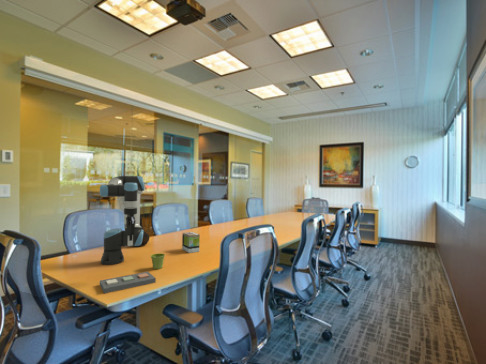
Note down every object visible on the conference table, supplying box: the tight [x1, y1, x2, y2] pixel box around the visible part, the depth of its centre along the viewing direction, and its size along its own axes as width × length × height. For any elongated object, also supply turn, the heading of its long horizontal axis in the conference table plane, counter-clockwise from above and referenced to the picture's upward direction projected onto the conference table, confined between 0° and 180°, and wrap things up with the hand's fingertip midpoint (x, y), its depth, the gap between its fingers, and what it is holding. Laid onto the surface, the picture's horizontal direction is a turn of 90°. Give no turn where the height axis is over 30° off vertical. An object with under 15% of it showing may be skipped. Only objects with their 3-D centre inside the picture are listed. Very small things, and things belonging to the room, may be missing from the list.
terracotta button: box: [138, 273, 149, 279], centre depth 159 cm, size 5×5×2 cm
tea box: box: [181, 231, 201, 254], centre depth 230 cm, size 15×10×15 cm
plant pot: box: [150, 252, 166, 270], centre depth 183 cm, size 9×9×9 cm
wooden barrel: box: [138, 214, 150, 247], centre depth 245 cm, size 18×18×28 cm
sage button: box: [122, 276, 134, 282], centre depth 154 cm, size 5×5×2 cm
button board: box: [99, 271, 157, 294], centre depth 154 cm, size 14×27×2 cm, turn 127°
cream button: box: [106, 279, 118, 285], centre depth 149 cm, size 5×5×2 cm
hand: (130, 245), depth 167 cm, fingers closed
